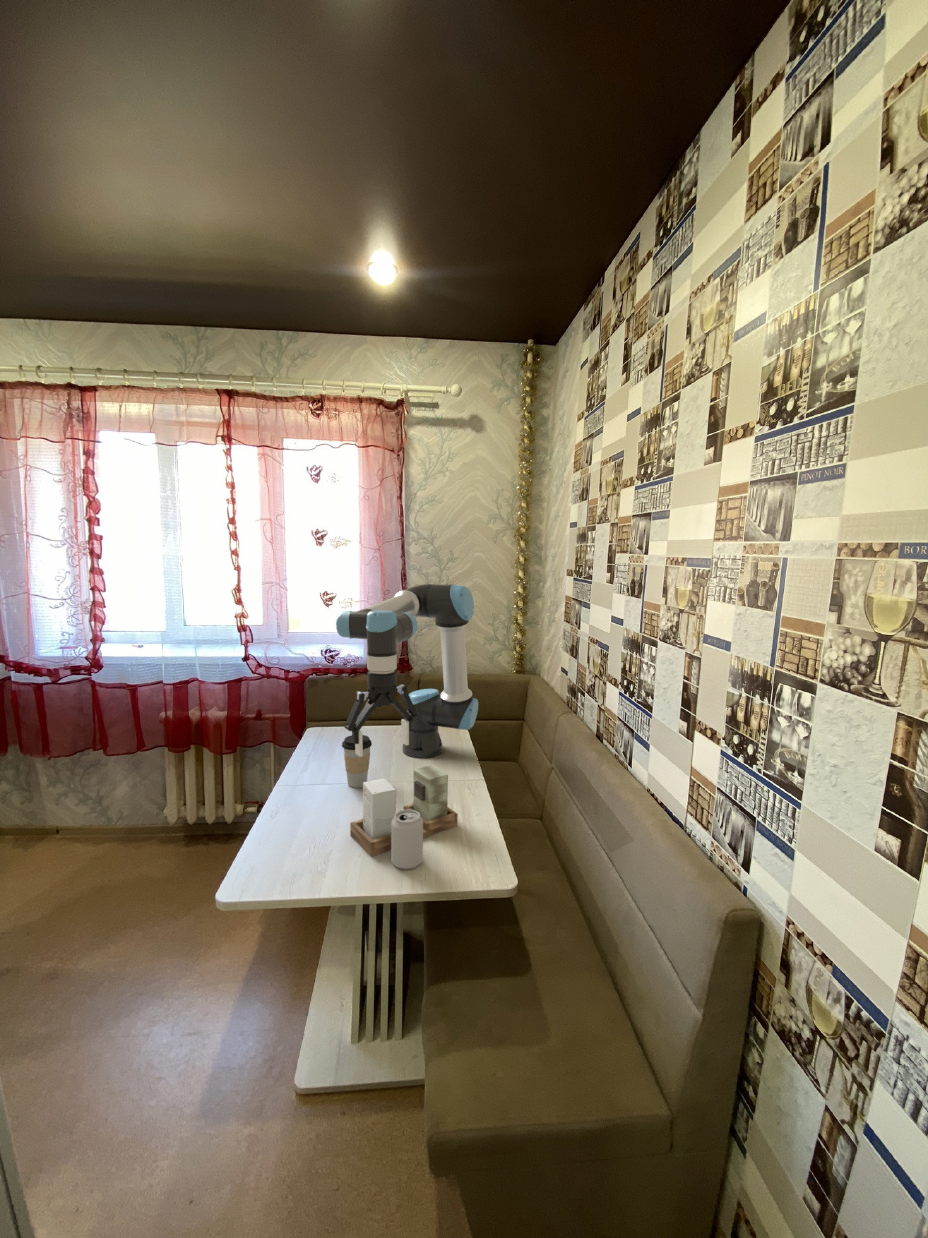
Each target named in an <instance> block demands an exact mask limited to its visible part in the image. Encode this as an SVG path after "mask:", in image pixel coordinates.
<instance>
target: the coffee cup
mask: <svg viewBox="0 0 928 1238" xmlns="http://www.w3.org/2000/svg"><path fill="white" fill-rule="evenodd" d="M362 743H363V756H362V757H359V756H358V755H357V754H355V744H354V743H353V742H352V734H351V735H348V736H345V738H344V739H343V741H342V742H341V748H343V756H344V767H345V772H346V779H347V785H348V786H349V787H350V788H353V789H354V788H355V789H356V788H363V782H367V781H368V772H369V768H370V767H369V766H370V757H371V747H372V745H373V743H372V740H371V738H370V737H369V736H368V735H365V734H362Z"/></svg>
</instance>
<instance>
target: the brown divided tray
mask: <svg viewBox="0 0 928 1238" xmlns="http://www.w3.org/2000/svg"><path fill="white" fill-rule="evenodd" d="M448 784H449V774H448V773H447V772H446V771H443V770H442V769H440V768H438V767H437V766H435V765H433V764H430V765H429V764H428V765H426V766H425V765H424V766H422V767H418V768H414V769H413V795H412V796H413V800H412V801H413V802H412V803H410V804H407V805H403V810H415V811H417V812H419V813H420V817H421V818H422V820H423V839H424V838H427V837H430V836H434V835H436V834H439V833H441V832H442V833H443V832H444V831H447V830H450V829H452V828H455V827H458V819H459V818H458V813H457V812H456V811H454V810H452V808H450V807H449V806H448V803H449V802H448V798H449V797H448V796H449V795H448V794H449V785H448ZM349 824H350V826H349V828H350V829H349V830H350V831H349V833H350V836H351V838H352V839H353V840H354V842H355V841H356V843H357V844H358V845H359V846H360V847H361V848H362V849H363V850H364V851H365V852H366V853H367V854H368V855H369V856H370V857H374V856H377V855H380V854H382V853H385V852H388V851H391V834H390V835H387V836H384V837H381V838H378V839H375V840H372V839H371V838H370V837H369V836H368V835H367V834H366V833H365V831H364V830H363V818H361V819H358V820H355V821H351V822H350V823H349Z"/></svg>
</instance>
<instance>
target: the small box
mask: <svg viewBox="0 0 928 1238" xmlns="http://www.w3.org/2000/svg"><path fill="white" fill-rule="evenodd" d="M396 800H397V791H396V788H394V786H393V785H392V784H391V783H390V781H388V780H387V778H379V779H374V780H373V779H372V780H367V782H363V786H362V819H363V830H364V831H365V833H366V834H367V835H368V836H369V837H370V838H371V839H372V840H375V839H378V838H381V837H384V836H387V835H390V834H391V822H392V820H393V819H394V815H395V814H396V813H397V811H396V808H397V807H396V806H397V804H396V803H397V801H396Z"/></svg>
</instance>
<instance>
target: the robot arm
mask: <svg viewBox="0 0 928 1238" xmlns="http://www.w3.org/2000/svg"><path fill="white" fill-rule="evenodd" d="M473 597H474V596H473V595H472V592H471V590H470V589H469V588H468V587H467V586H465V585H459V584H437V583H436V584H432V583H425V584H419V585H414V586H412V587H409V588H408V587H407V588H406V589H403V590H400V591H398V592H397V593H396V594H395V595H394V596H393V597H391V598H388V599H384V600H383V601H380V602H378V603H376V604H373V605H371V606H368V607H365V608H363V609H360V610H357V611H352V610H346V611H345V610H344V611H341V612H340V613H339V615H338V616H337V617H336V621H335V627H336V632H337V634H338V635H339V636H340V637H342V638H348V639H349V640H350V639H360V640H366V644H367V645H366V649H367V650H366V651H367V652H366V656H367V657H366V659H367V660H366V662H367V664H366V665H367V670H368V671H367V673H366V674H367V675H366V676H367V679H366V682H367V683H366V684H367V691H359V690H357V691H356V692H355V701H354V703H353V705H352V706H351V709H350V712H349V714H348V716H347V718H346V721H345V723H344V728H345V730H347V731H348V732H351V735H352V742H353V743H354V744H355V754H357V755H358V756H359V757H362V756H363V743H362V735H363V731H362V730H361V729H362V728H363V726H364V724H365V723H366V721H367V720H368V719H369V717H370V715H371V714H372V713H373V712H374V711H375V710H376V709H377V707H378V708H382V707H384V706H390V704H391V706H393V708H395V710H396V711H397V712H398V713H399V714H400V715H401V716H402V718H401V721H400V727H401V729H400V732H401V733H400V734H401V735H400V736H401V737H400V738H401V740H400V743H402V753H403V754H405V755H406V756H408V757H413V758H419V759H420V758H424V759H425V758H430V757H431V758H432V757H436V756H439V755H440V754H441V753H442V752H443V742H442V740H441V735H440V733H439V728H447V729H455V730H458V731H459V730H464V731H468V730H470V729H472V728H473V727H474V725H475V722H476V720H477V715H478V713H479V701H478V698H475V697H473V692H472V690H471V689H469V687H468V685H469V684H468V668H467V667H468V666H467V649H466V632H465V630H466V629H465V628H466V626H467V625H469V621H470V620H471V619H472V618H473V616H474V611H475V610H474V609H475V605H474V604H475V603H474V598H473ZM416 617H419V618H429V619H432V618H433V619H434V621H435V623H434V624H435V625H434V626H436V627H438V629H439V632H440V646H441V661H442V663H441V664H442V678H443V691H441V693H440V692H439V690H438V689H436V688H424V689H422V688H421V689H418V690H414V691H412V692H410V693H409V692H408V686H407V685H405V684H403V683H400V684H399V685H398V686H397V683H398V682H397V681H398V680H397V679H398V678H397V677H398V673H397V668H398V665H397V663H398V660H397V656H398V655H397V653H398V651H397V644H398V643H399V644H400V643H401V642H405V641H408V640H410V639H412V638H413V637H414V636H415V635H416V634H417V632H418V627H419V626H418V621H417V619H416ZM397 694H399V695H400V698H401V699H402V701H403V704H404V705H405V707H406V709H405V708H404V706H403V705H402V704H401V702H399V700H398V699H397V698H396V696H397ZM367 698H368V700H367ZM366 700H367V701H366ZM365 701H366V703H365ZM364 703H365V706H364ZM363 706H364V707H363ZM362 708H363V709H362Z"/></svg>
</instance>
